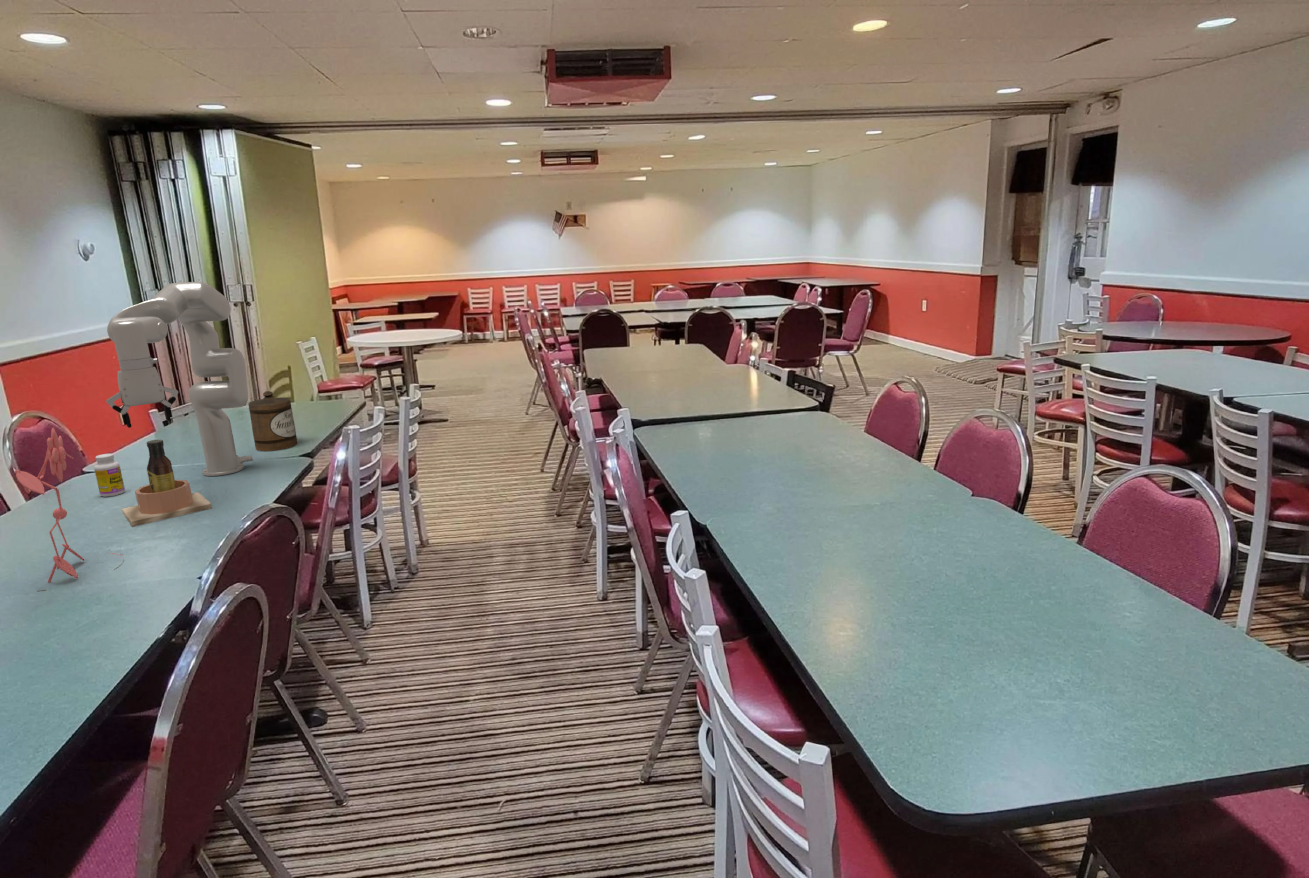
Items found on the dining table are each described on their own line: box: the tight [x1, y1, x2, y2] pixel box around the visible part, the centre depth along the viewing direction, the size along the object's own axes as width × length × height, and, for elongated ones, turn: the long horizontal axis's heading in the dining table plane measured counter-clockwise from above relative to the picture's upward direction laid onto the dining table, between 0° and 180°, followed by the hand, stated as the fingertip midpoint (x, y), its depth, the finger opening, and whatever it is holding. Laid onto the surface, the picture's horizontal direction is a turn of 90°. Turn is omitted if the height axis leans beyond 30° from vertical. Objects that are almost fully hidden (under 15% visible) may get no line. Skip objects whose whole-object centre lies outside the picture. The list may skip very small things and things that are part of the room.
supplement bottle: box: [93, 453, 126, 498], centre depth 238 cm, size 7×7×13 cm
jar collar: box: [134, 479, 193, 514], centre depth 220 cm, size 13×13×6 cm
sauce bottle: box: [146, 439, 176, 493], centre depth 219 cm, size 7×6×20 cm
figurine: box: [14, 427, 125, 592], centre depth 177 cm, size 15×26×35 cm, turn 27°
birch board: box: [121, 491, 213, 528], centre depth 221 cm, size 20×16×2 cm
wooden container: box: [248, 390, 298, 452], centre depth 289 cm, size 15×15×22 cm
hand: (149, 423), depth 215 cm, fingers open, 9 cm apart
